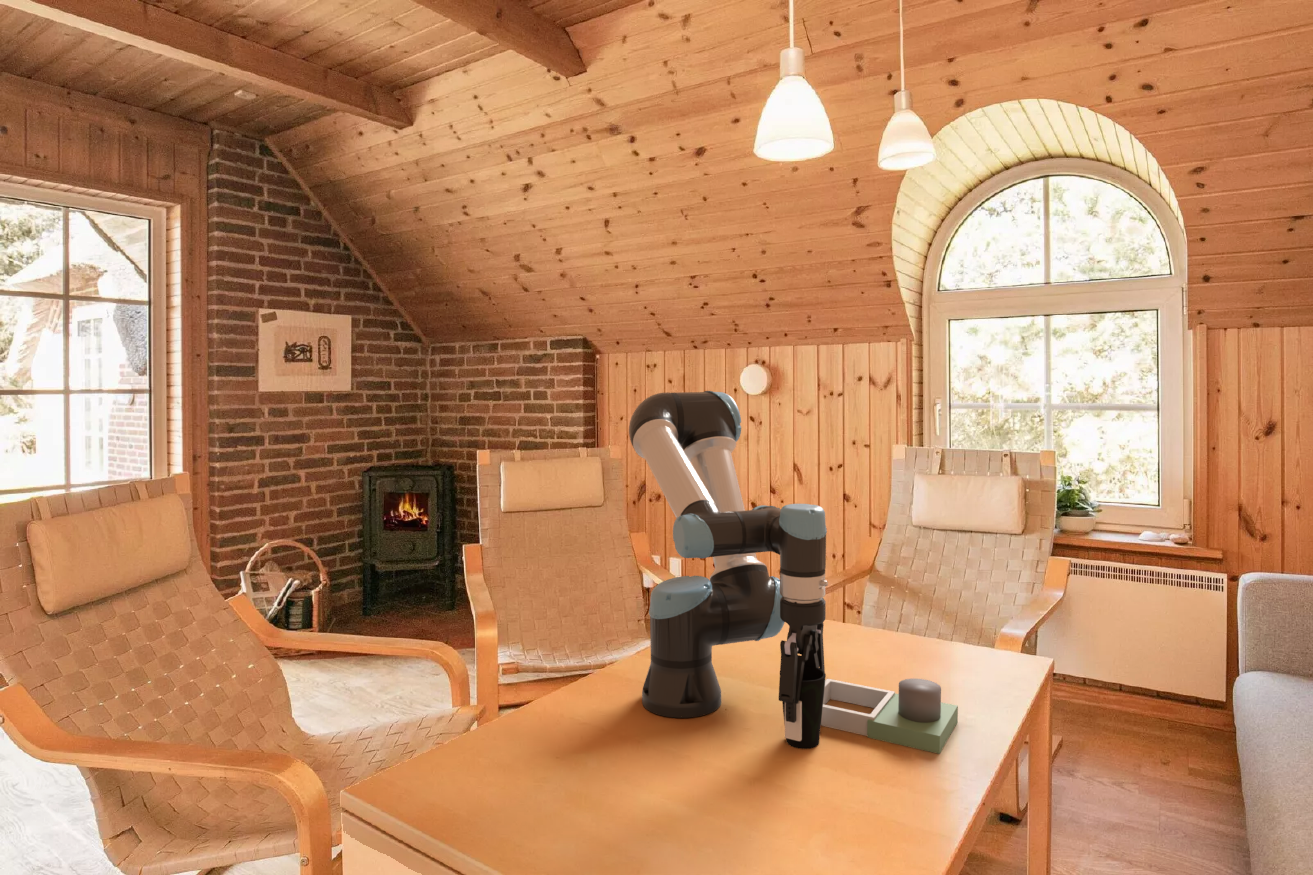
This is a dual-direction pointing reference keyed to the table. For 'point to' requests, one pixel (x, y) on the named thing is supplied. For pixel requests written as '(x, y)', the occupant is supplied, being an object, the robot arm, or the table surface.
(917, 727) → the multicoloured boxy piece
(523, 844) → the table surface
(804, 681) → the cup
